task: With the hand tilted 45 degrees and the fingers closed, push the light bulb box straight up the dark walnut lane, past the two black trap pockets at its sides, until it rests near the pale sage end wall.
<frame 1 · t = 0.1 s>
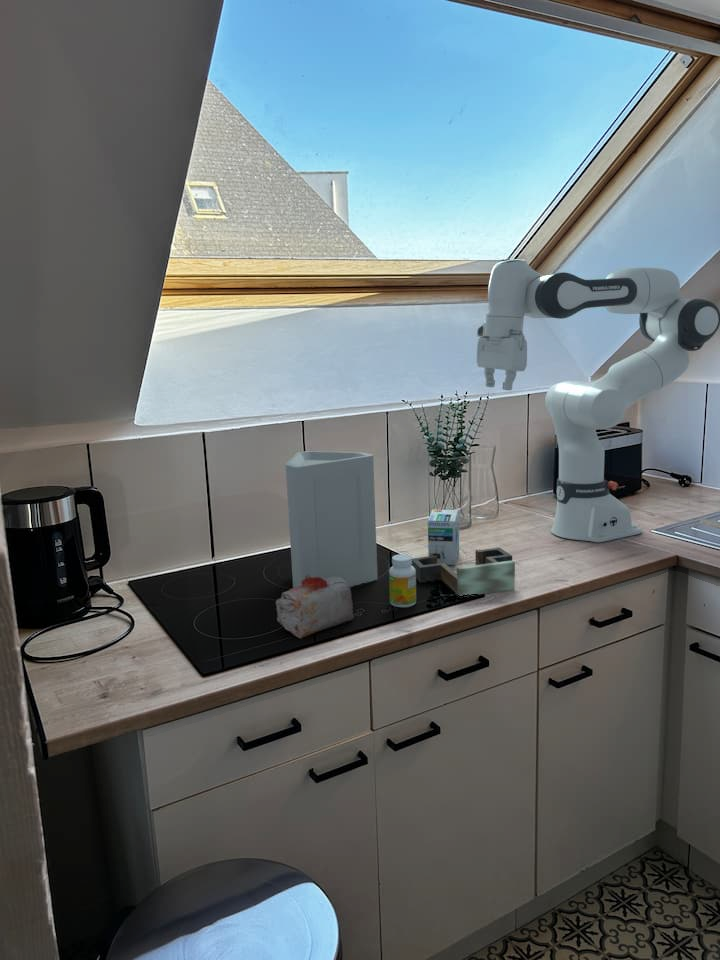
hand: (498, 388, 174), 39 cm above the worktop, tool pointing down, fingers open, 8 cm apart
food item: (316, 627, 137), on the worktop
supplement bottle: (403, 603, 147), on the worktop
grey triangular bin: (325, 580, 162), on the worktop
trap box: (469, 578, 159), on the worktop
light bulb box: (444, 559, 173), on the worktop
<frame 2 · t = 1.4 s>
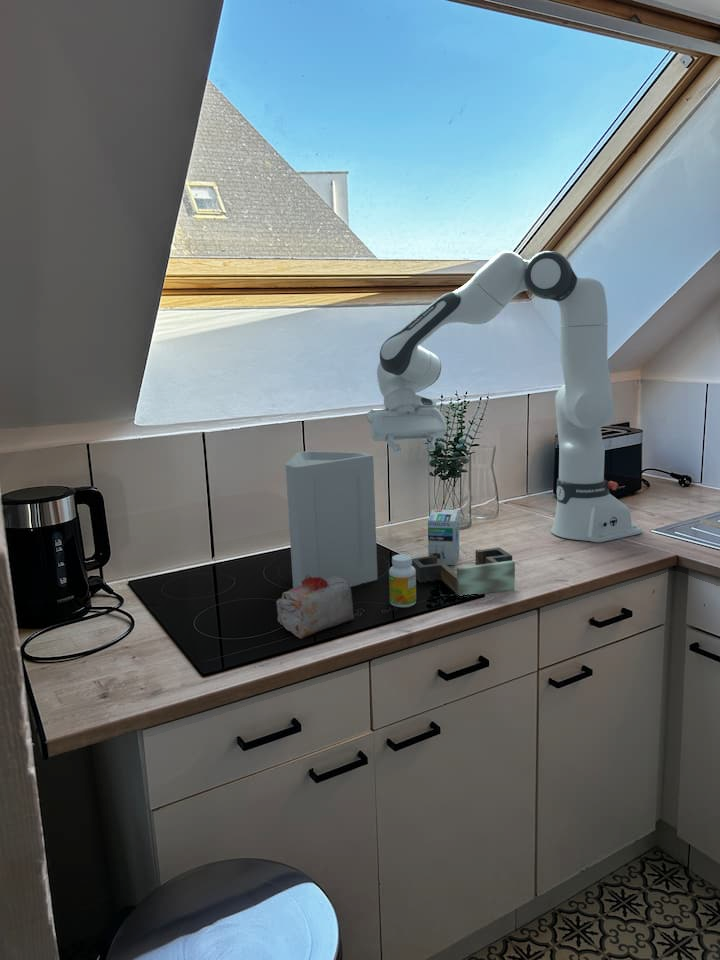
hand: (415, 451, 185), 23 cm above the worktop, tool tilted 45°, fingers open, 8 cm apart
nothing on the worktop moved.
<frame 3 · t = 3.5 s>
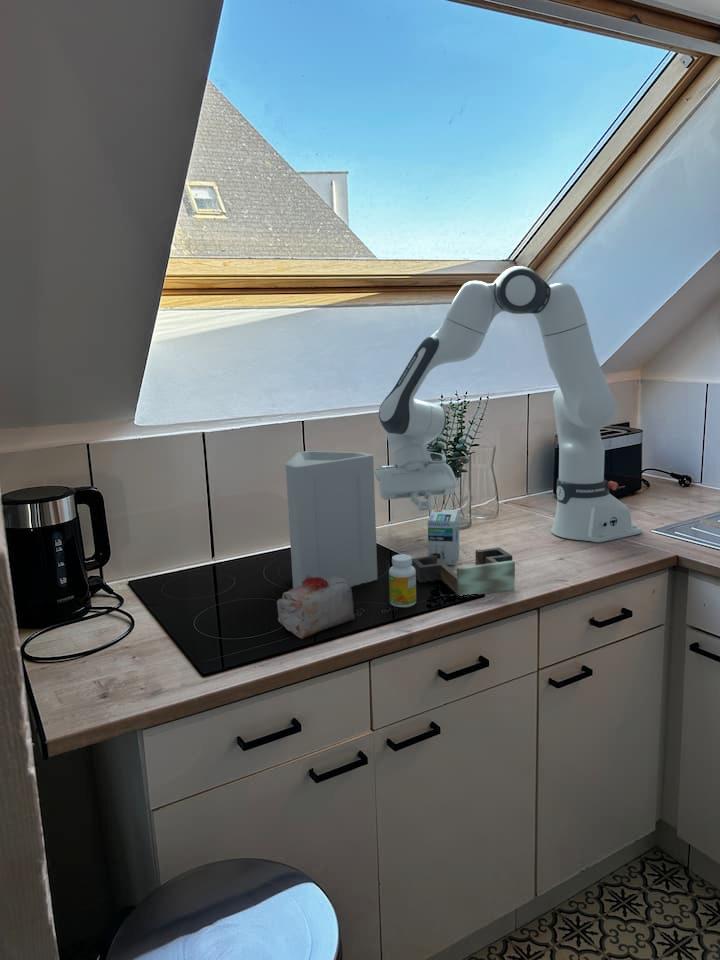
hand: (424, 509, 182), 9 cm above the worktop, tool tilted 45°, fingers closed
nothing on the worktop moved.
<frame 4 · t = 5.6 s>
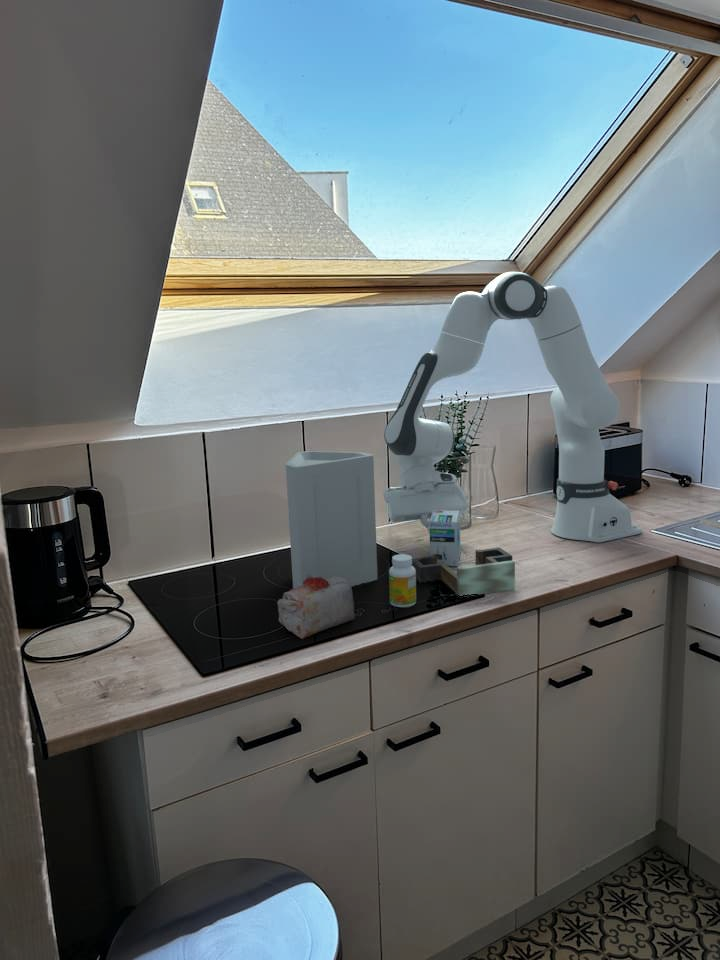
hand: (435, 532, 177), 5 cm above the worktop, tool tilted 45°, fingers closed
light bulb box: (445, 560, 172), on the worktop, touching gripper
everything else where it was.
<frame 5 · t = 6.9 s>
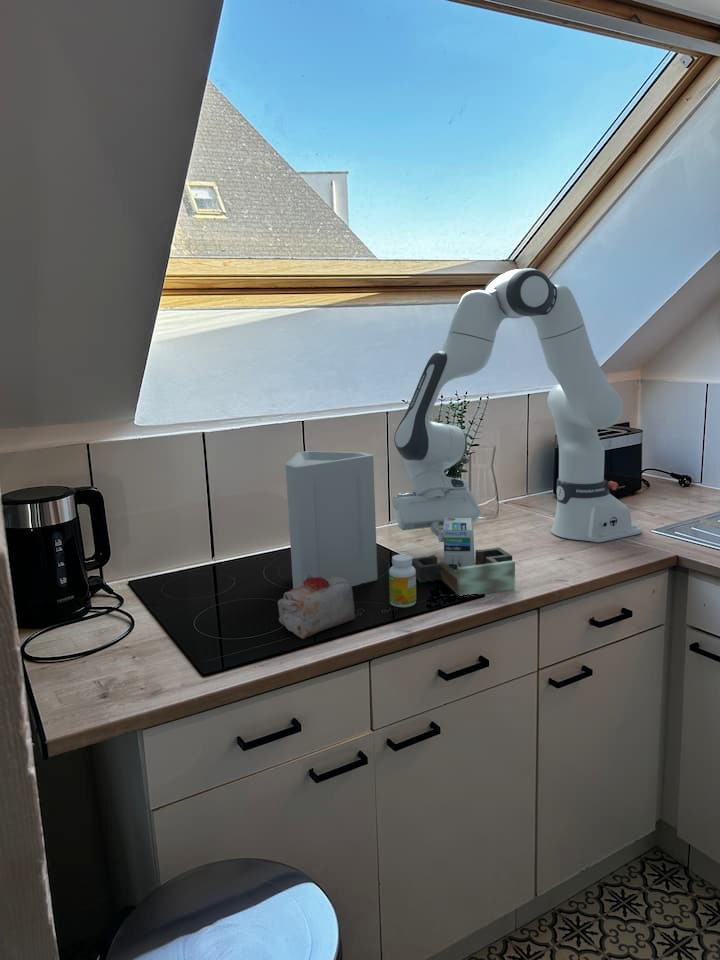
hand: (446, 540, 170), 5 cm above the worktop, tool tilted 45°, fingers closed
light bulb box: (458, 569, 165), on the worktop, touching gripper
everything else where it was.
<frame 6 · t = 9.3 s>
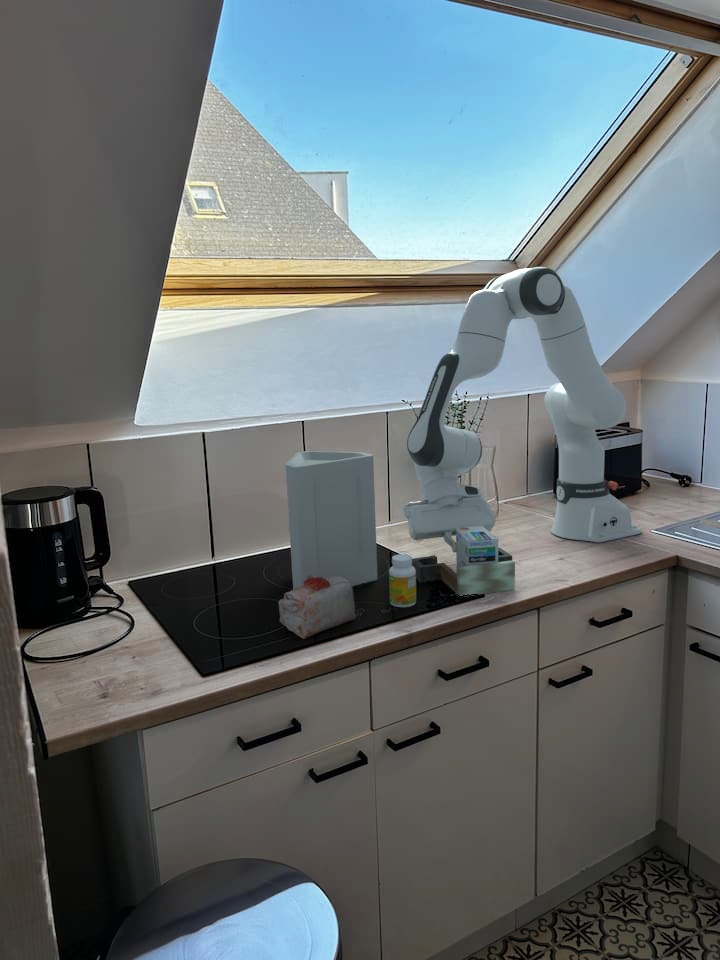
hand: (460, 550, 162), 5 cm above the worktop, tool tilted 45°, fingers closed
light bulb box: (476, 580, 158), on the worktop, touching gripper
everything else where it was.
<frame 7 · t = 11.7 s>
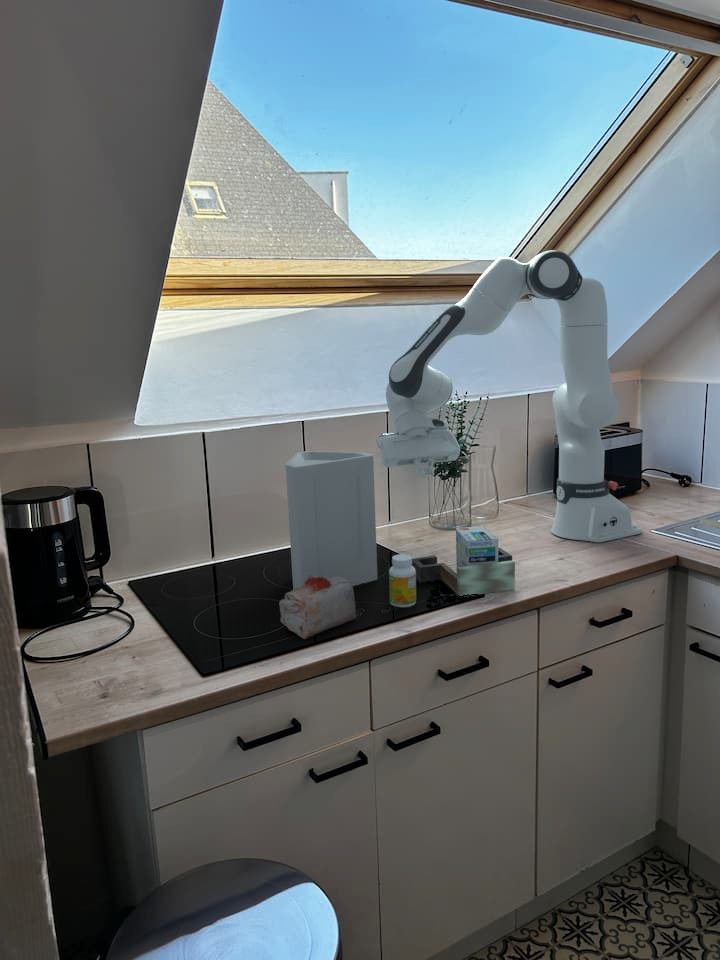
hand: (428, 475, 179), 18 cm above the worktop, tool tilted 45°, fingers closed
light bulb box: (476, 580, 158), on the worktop
everything else where it was.
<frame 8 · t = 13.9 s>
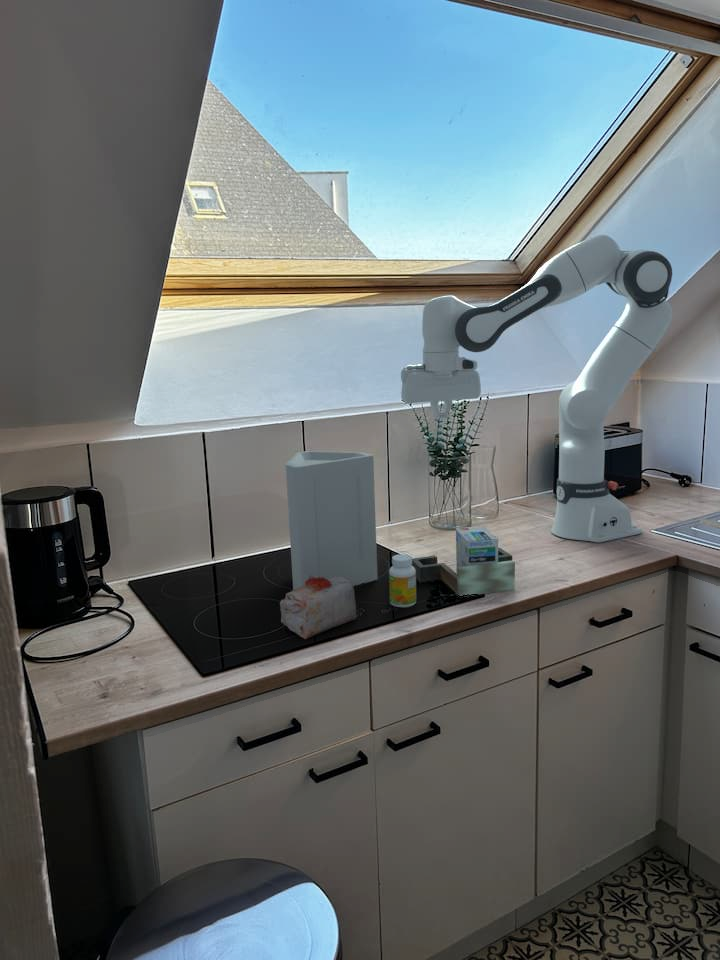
hand: (441, 418, 182), 31 cm above the worktop, tool pointing down, fingers closed
nothing on the worktop moved.
at the end: light bulb box inside the target area (2.0 cm from its centre), on the worktop; light bulb box tilted 0° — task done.
